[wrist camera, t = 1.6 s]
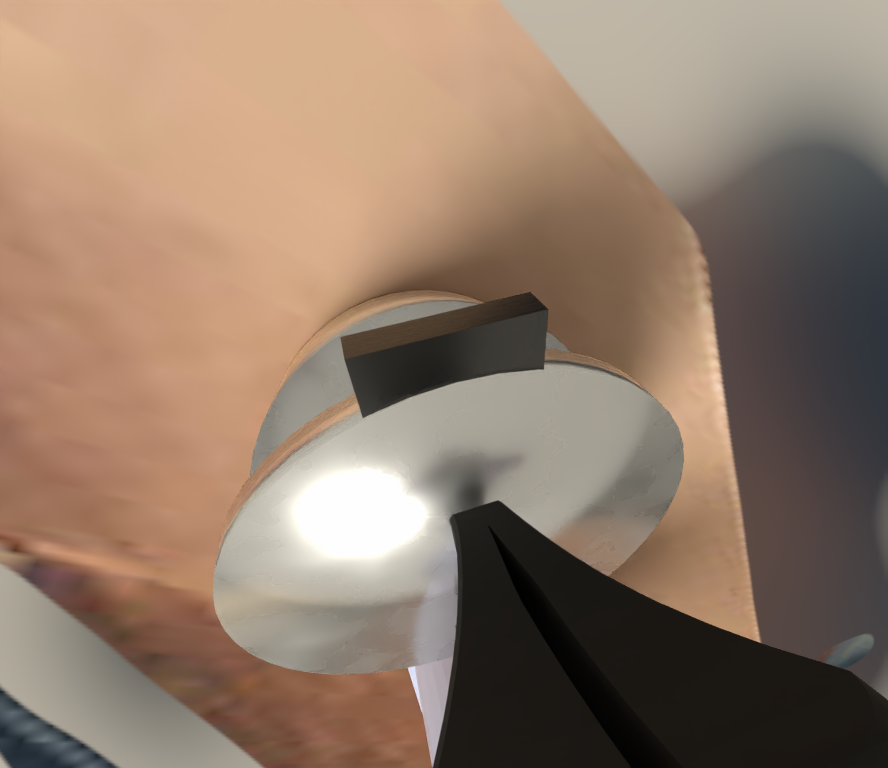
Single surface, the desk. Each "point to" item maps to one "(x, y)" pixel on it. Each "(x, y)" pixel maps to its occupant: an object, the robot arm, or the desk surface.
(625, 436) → the lid
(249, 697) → the desk surface
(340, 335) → the pot
